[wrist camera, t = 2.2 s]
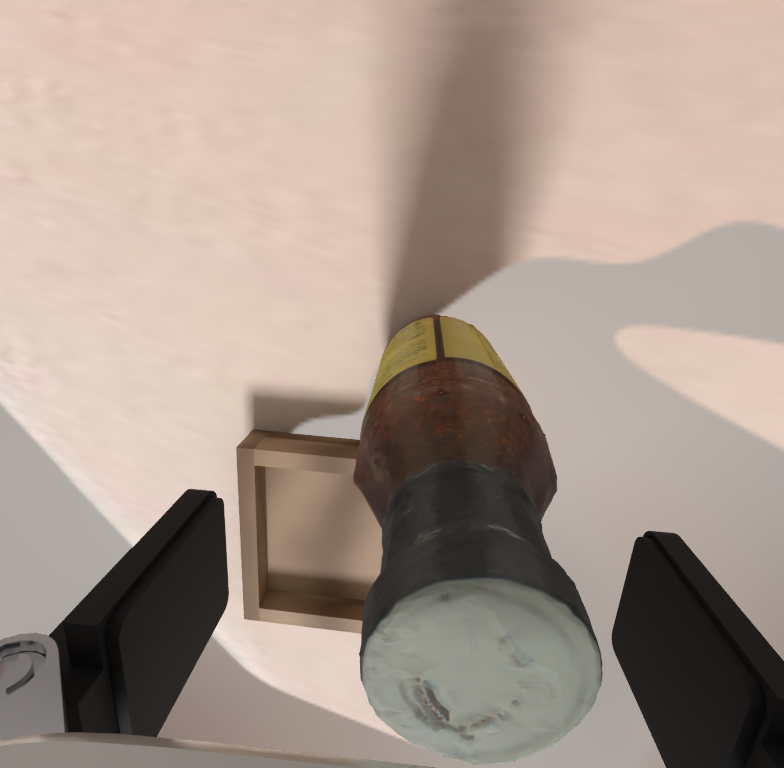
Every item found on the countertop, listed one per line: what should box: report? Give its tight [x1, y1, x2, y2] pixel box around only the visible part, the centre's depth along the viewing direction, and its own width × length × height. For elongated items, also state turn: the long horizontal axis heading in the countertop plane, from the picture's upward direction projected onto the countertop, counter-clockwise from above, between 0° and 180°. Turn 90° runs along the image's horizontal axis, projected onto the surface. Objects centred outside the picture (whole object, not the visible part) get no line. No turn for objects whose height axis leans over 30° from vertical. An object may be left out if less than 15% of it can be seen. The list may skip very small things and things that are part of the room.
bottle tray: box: [236, 430, 383, 634], centre depth 29 cm, size 12×12×2 cm
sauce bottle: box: [353, 315, 602, 764], centre depth 17 cm, size 7×6×20 cm
